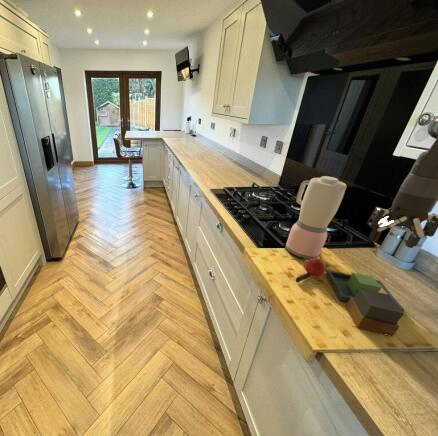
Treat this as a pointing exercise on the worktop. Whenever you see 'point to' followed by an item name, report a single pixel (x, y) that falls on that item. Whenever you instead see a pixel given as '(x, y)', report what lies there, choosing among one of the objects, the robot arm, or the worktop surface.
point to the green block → (362, 283)
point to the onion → (315, 267)
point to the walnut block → (369, 320)
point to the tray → (342, 289)
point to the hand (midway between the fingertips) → (390, 243)
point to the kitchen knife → (303, 277)
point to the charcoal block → (378, 306)
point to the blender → (314, 216)
